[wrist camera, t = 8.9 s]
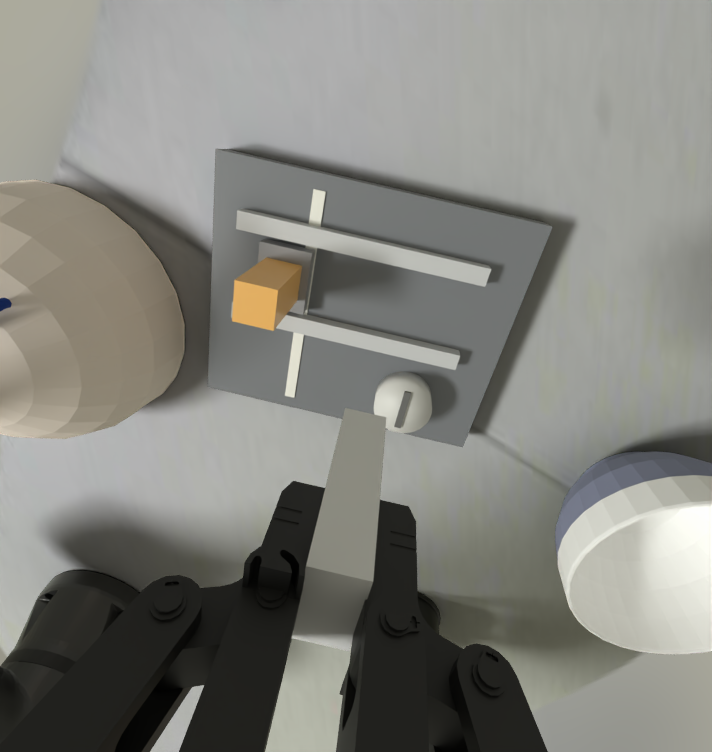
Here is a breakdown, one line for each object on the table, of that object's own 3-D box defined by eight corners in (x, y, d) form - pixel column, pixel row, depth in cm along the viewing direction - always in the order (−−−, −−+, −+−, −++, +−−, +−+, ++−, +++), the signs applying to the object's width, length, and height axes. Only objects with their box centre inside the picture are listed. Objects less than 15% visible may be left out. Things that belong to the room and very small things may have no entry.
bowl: (714, 389, 33) (819, 471, 24) (742, 529, 38) (834, 634, 30) (509, 453, 37) (537, 540, 29) (561, 568, 43) (597, 668, 35)
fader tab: (259, 298, 31) (222, 333, 25) (264, 238, 29) (225, 260, 23) (306, 309, 31) (280, 347, 25) (315, 250, 29) (289, 275, 23)
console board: (217, 375, 37) (195, 400, 34) (227, 149, 29) (200, 148, 25) (460, 433, 37) (465, 464, 33) (544, 222, 28) (563, 232, 25)
